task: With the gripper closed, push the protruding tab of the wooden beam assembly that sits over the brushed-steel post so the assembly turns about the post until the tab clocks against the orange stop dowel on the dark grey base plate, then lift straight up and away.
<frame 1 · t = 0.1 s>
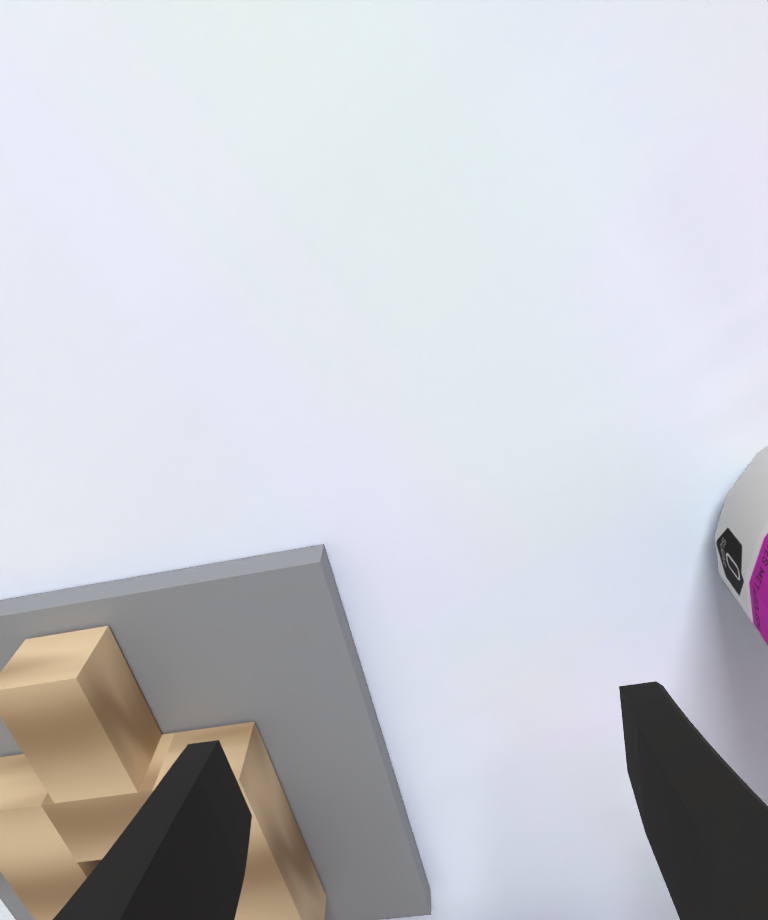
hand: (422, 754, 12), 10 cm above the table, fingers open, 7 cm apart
wooden beam assembly: (136, 815, 25), point 2 cm above the table, hinge at 0.0°
base plate: (162, 771, 27), on the table
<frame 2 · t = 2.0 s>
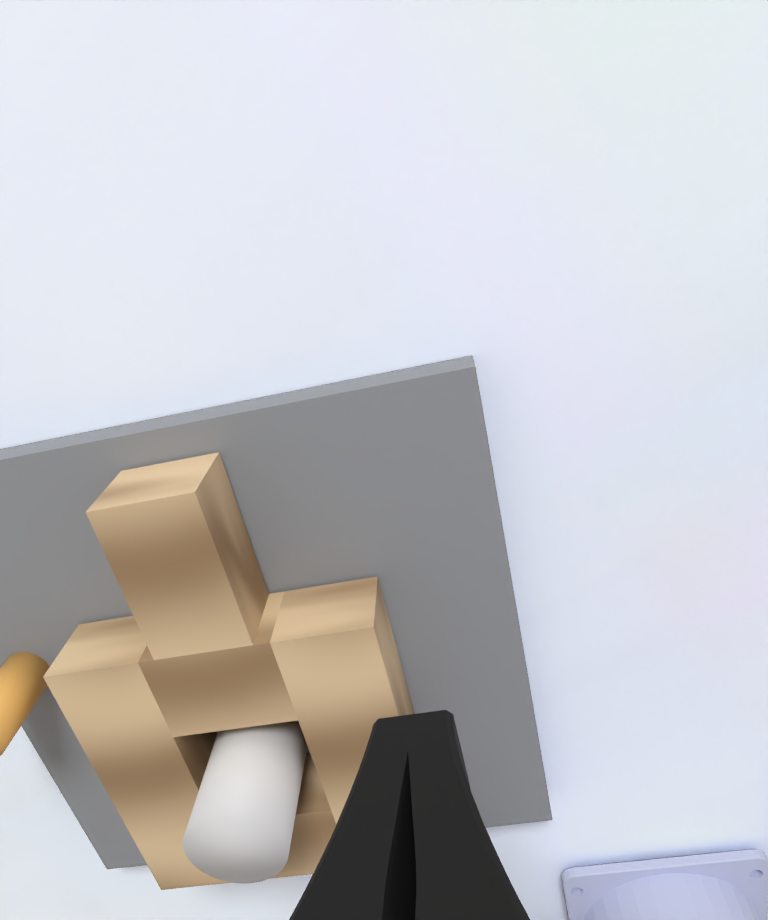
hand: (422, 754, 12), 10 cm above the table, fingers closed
wooden beam assembly: (239, 687, 22), point 2 cm above the table, hinge at 0.0°
base plate: (258, 650, 24), on the table
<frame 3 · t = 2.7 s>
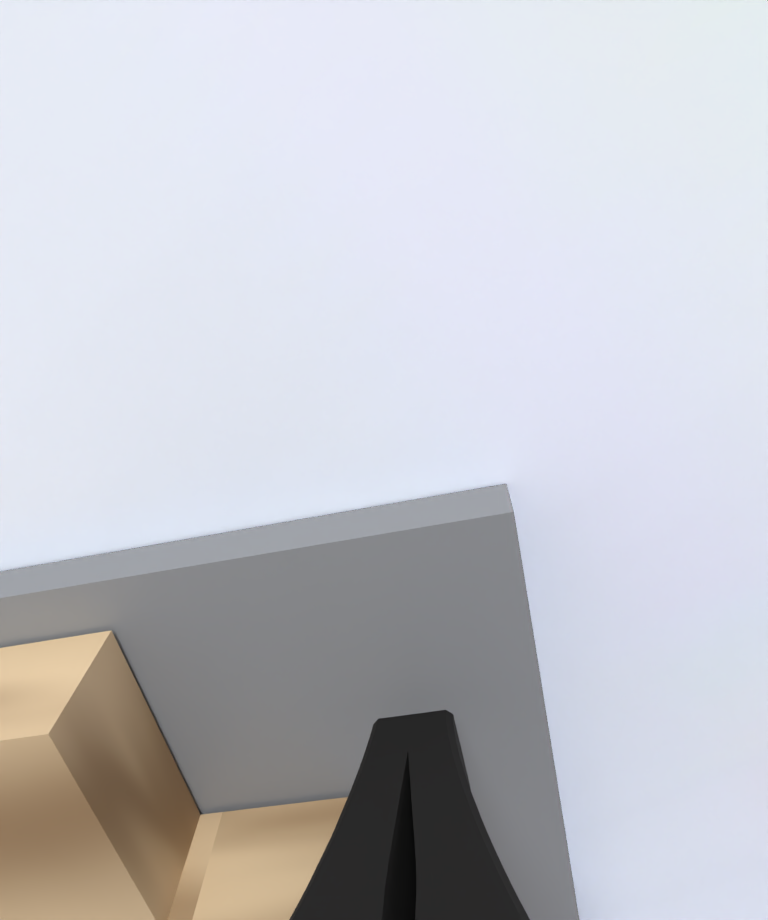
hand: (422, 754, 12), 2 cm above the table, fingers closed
base plate: (195, 863, 17), on the table
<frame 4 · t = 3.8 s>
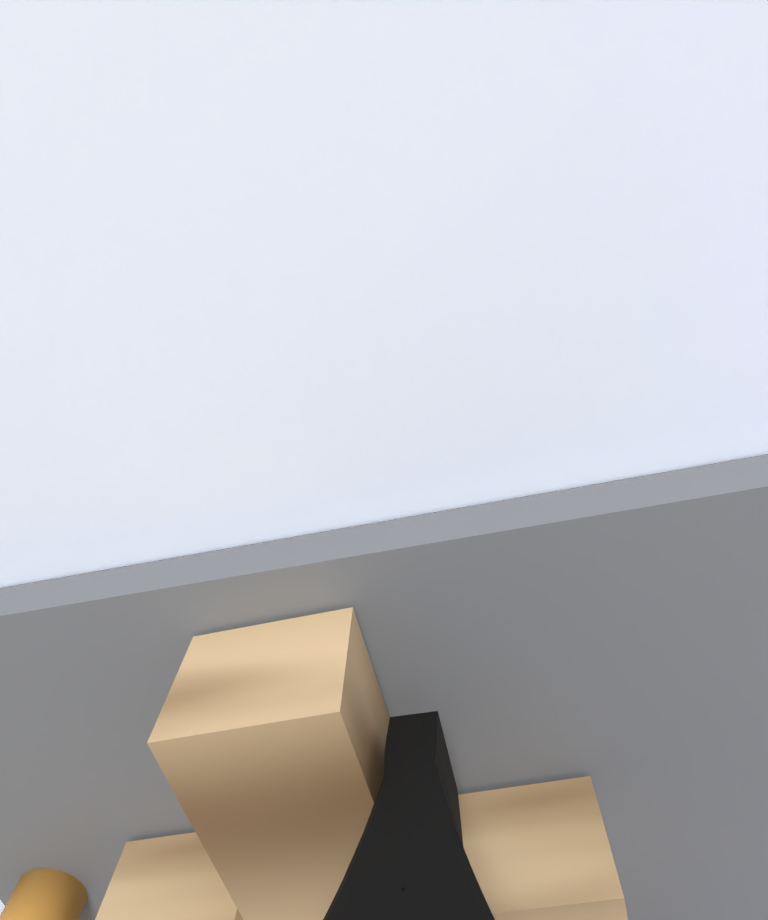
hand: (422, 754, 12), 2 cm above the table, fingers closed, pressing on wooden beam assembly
base plate: (386, 853, 16), on the table
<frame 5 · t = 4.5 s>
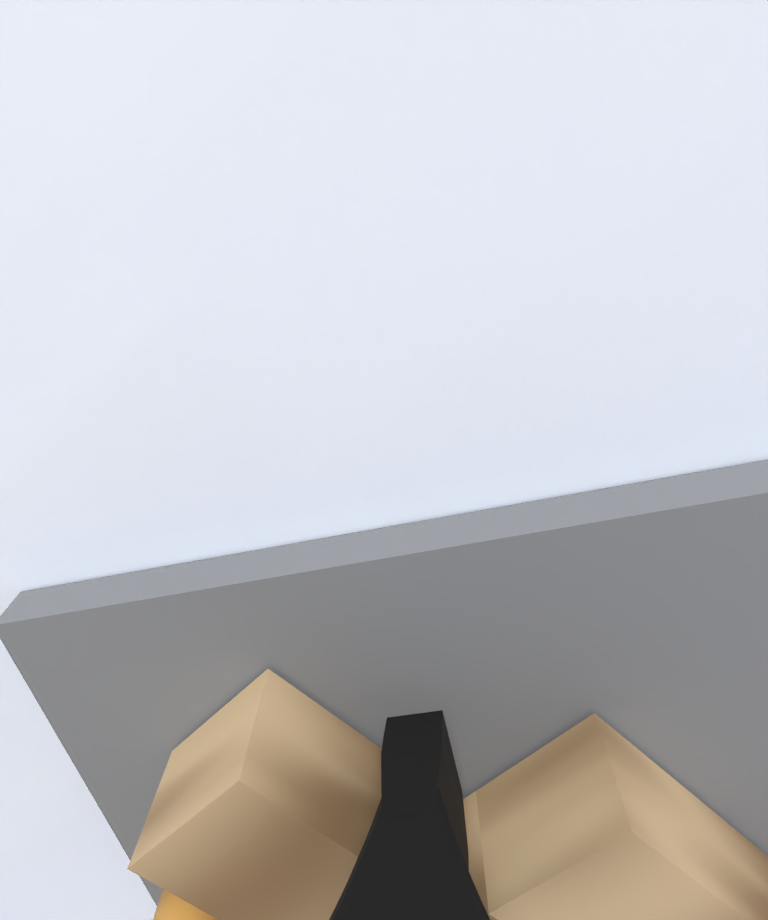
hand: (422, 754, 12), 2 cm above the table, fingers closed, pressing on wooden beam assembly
base plate: (542, 839, 16), on the table
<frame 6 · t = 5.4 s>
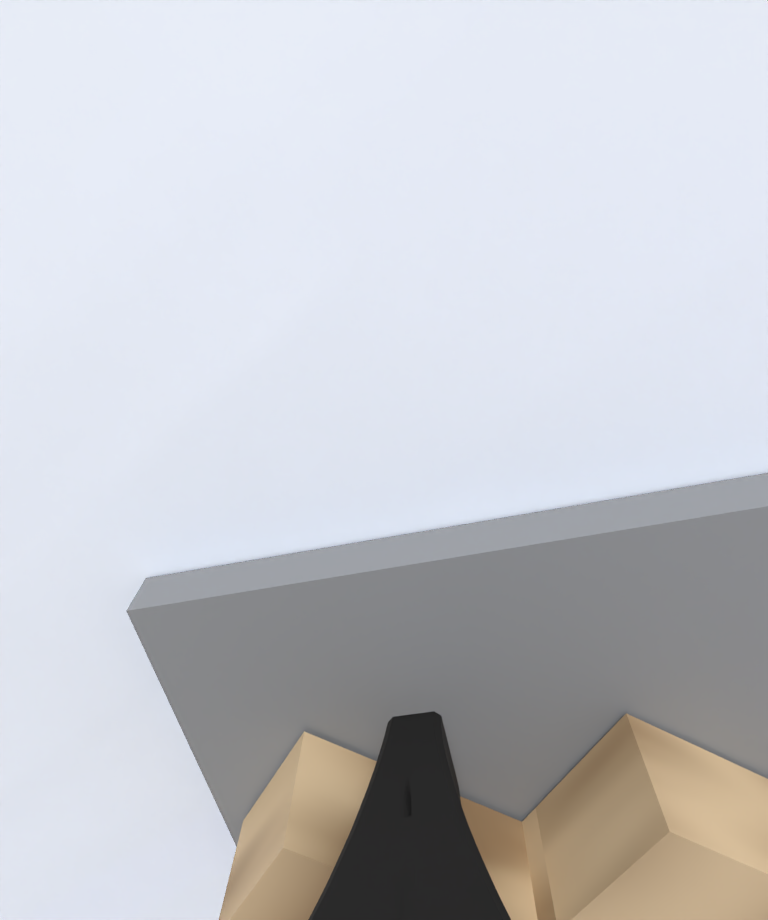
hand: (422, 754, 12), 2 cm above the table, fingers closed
base plate: (650, 834, 16), on the table
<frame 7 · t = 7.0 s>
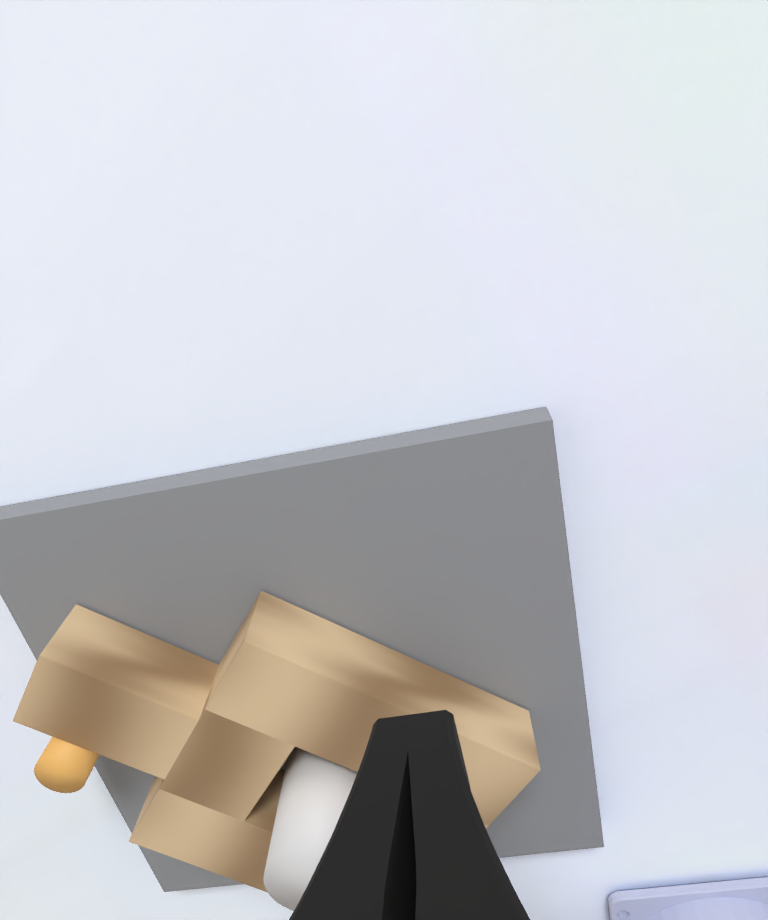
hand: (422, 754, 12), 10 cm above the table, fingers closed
wooden beam assembly: (261, 749, 23), point 2 cm above the table, hinge at 49.5°
base plate: (322, 683, 25), on the table
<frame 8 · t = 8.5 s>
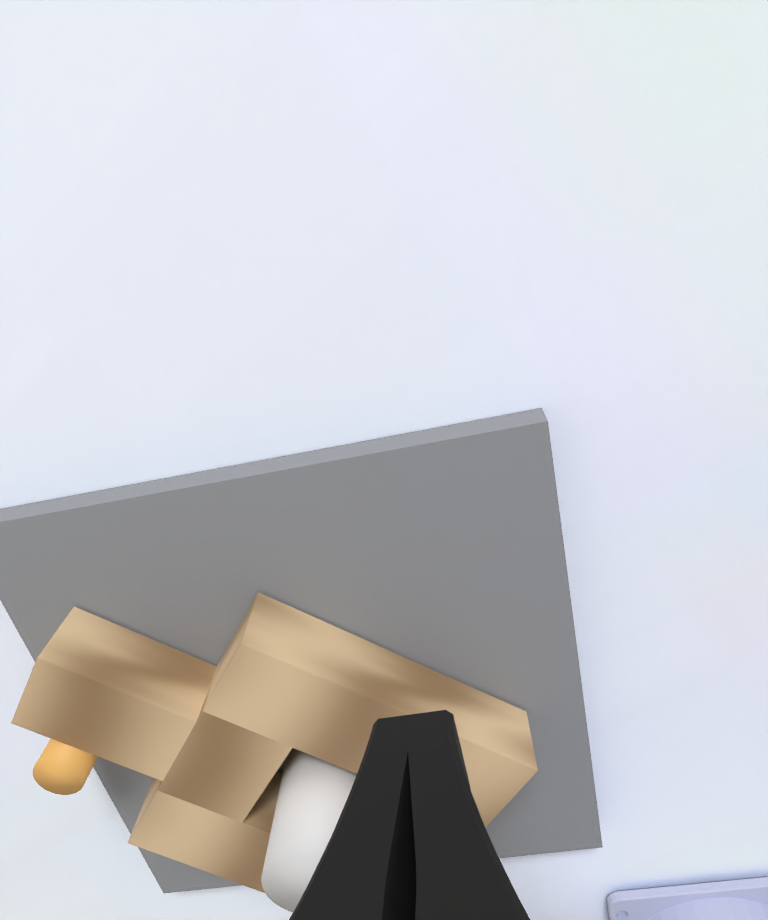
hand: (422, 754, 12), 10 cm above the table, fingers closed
wooden beam assembly: (259, 750, 23), point 2 cm above the table, hinge at 49.5°
base plate: (320, 684, 25), on the table
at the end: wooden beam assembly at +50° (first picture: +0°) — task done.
